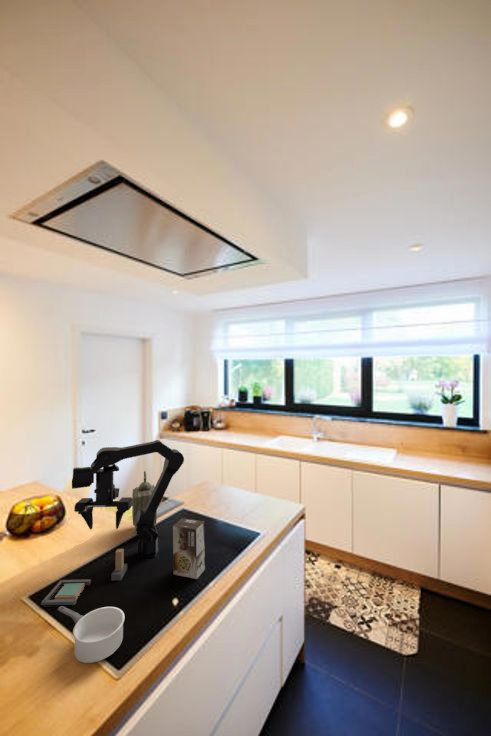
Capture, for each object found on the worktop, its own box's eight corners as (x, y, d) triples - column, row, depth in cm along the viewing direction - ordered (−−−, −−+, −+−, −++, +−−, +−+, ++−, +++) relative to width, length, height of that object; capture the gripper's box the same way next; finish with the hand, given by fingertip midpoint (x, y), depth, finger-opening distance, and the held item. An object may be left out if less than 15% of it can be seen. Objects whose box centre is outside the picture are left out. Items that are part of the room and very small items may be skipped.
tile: (84, 588, 99) (84, 582, 99) (75, 602, 93) (75, 595, 93) (64, 589, 98) (64, 583, 98) (54, 603, 92) (54, 596, 92)
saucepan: (79, 613, 88) (79, 593, 88) (134, 636, 80) (134, 614, 80) (37, 645, 77) (37, 622, 77) (96, 676, 69) (97, 649, 69)
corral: (90, 583, 100) (90, 579, 100) (74, 605, 90) (74, 601, 91) (60, 583, 100) (60, 580, 100) (41, 606, 90) (41, 602, 90)
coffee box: (205, 568, 108) (205, 520, 108) (196, 580, 102) (196, 529, 102) (182, 563, 111) (182, 517, 111) (172, 574, 105) (172, 525, 105)
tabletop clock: (156, 536, 131) (156, 475, 131) (133, 540, 127) (133, 477, 128) (153, 521, 144) (153, 466, 145) (132, 525, 141) (132, 468, 142)
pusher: (127, 569, 108) (127, 545, 108) (120, 580, 102) (120, 555, 102) (118, 569, 108) (118, 545, 108) (111, 580, 102) (111, 555, 102)
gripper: (138, 476, 121) (137, 518, 120) (88, 477, 120) (88, 519, 120) (128, 486, 110) (127, 532, 109) (73, 487, 109) (73, 533, 109)
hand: (104, 528), depth 112 cm, fingers open, 9 cm apart
